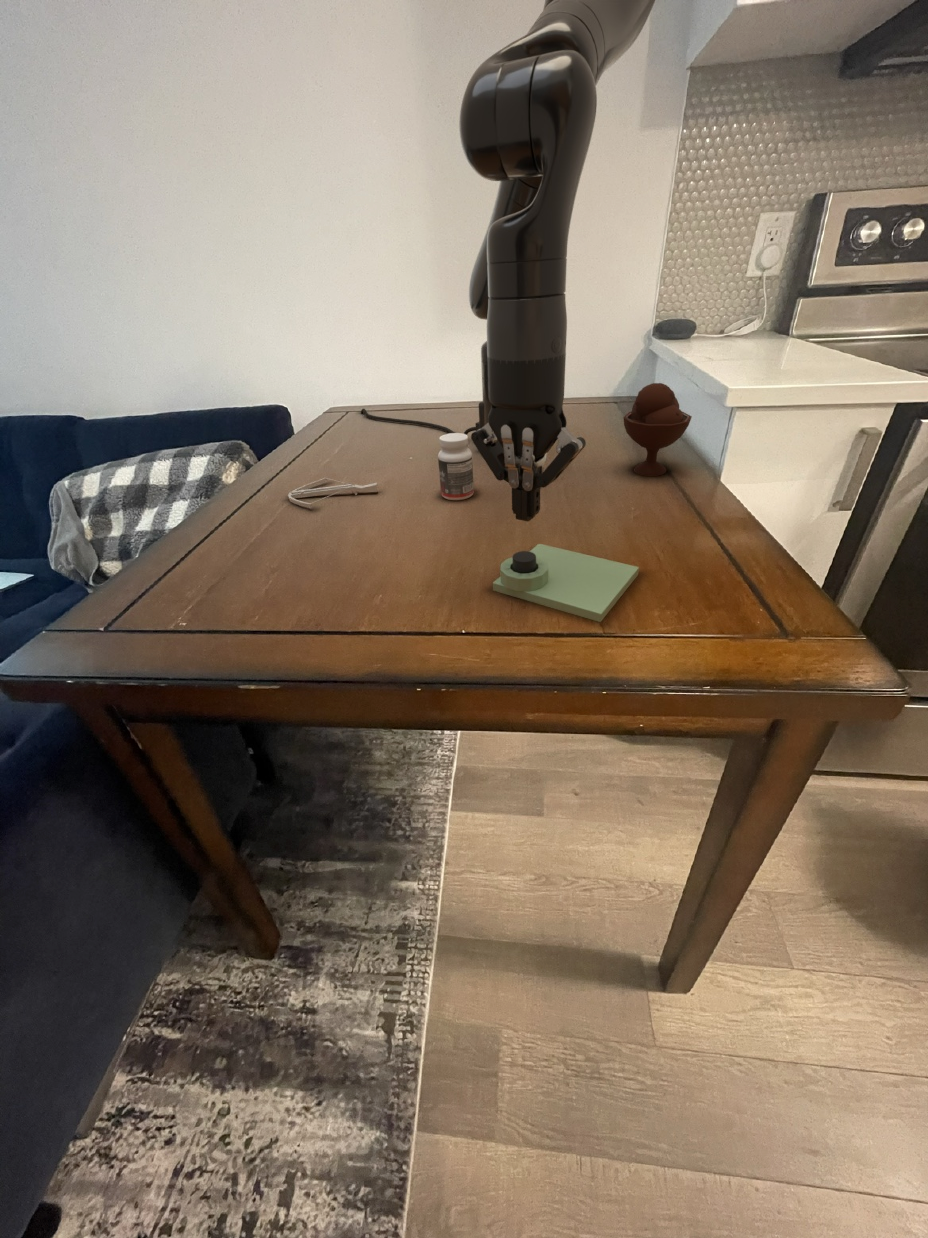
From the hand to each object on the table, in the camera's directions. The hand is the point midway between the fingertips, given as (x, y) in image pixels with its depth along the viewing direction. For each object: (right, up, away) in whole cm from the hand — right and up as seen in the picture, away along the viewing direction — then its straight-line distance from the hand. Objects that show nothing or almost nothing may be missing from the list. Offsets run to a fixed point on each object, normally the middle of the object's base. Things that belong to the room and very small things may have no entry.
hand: (525, 517), depth 62 cm
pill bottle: (-8, +10, +32) cm, 34 cm away
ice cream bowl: (+27, +15, +36) cm, 47 cm away
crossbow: (-30, +10, +35) cm, 48 cm away
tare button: (0, -5, +4) cm, 7 cm away
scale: (+6, -7, +6) cm, 11 cm away
